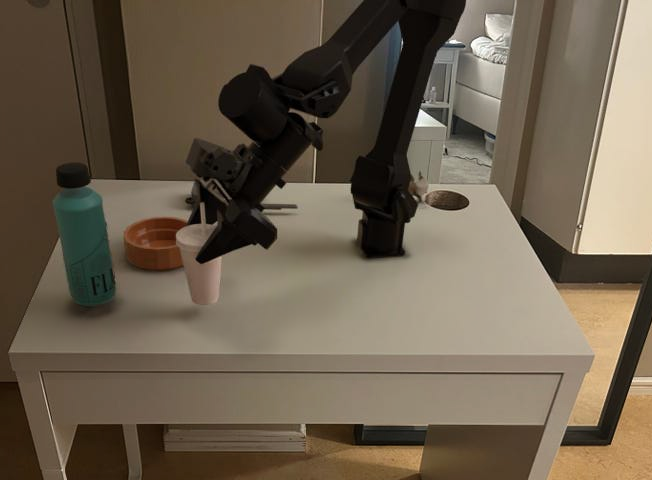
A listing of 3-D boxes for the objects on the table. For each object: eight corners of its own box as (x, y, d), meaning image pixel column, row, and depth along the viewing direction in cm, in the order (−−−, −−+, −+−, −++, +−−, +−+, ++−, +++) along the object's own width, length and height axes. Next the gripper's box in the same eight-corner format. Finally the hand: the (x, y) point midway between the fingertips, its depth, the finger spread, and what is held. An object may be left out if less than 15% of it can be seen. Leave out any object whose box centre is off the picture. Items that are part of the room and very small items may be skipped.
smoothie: (221, 313, 93) (215, 216, 84) (175, 307, 94) (164, 211, 85) (233, 288, 98) (229, 194, 89) (189, 283, 99) (181, 190, 90)
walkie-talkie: (183, 214, 123) (297, 216, 123) (181, 190, 120) (297, 193, 120) (190, 194, 130) (297, 196, 130) (188, 171, 127) (298, 173, 127)
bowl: (195, 237, 116) (193, 214, 113) (201, 269, 107) (199, 246, 104) (126, 241, 114) (123, 219, 111) (126, 275, 105) (123, 251, 103)
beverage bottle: (95, 321, 95) (71, 180, 83) (61, 306, 98) (32, 168, 86) (128, 300, 99) (110, 163, 87) (94, 287, 102) (72, 153, 90)
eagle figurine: (411, 184, 132) (368, 179, 130) (429, 160, 126) (384, 155, 123) (418, 218, 130) (374, 214, 127) (436, 196, 123) (391, 191, 121)
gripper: (202, 93, 89) (127, 187, 92) (250, 141, 75) (160, 250, 79) (261, 146, 96) (189, 232, 99) (315, 199, 82) (229, 296, 86)
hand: (191, 250), depth 91 cm, fingers closed on smoothie, 6 cm apart
